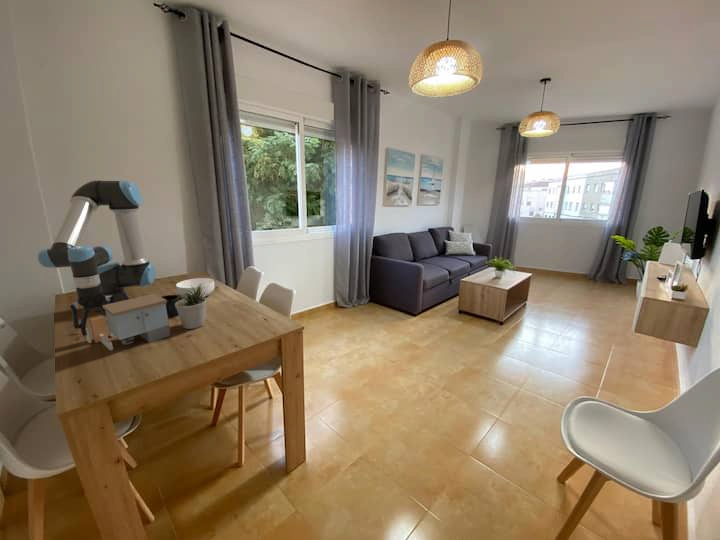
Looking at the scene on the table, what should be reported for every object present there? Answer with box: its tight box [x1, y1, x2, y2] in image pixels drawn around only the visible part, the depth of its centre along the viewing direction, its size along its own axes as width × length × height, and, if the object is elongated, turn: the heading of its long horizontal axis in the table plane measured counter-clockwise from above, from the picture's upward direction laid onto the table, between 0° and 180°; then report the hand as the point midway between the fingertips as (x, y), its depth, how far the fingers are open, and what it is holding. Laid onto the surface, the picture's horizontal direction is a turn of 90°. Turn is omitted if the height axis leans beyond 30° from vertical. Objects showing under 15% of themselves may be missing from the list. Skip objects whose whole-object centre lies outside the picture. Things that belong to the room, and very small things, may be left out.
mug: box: [161, 294, 180, 319], centre depth 146 cm, size 9×12×9 cm
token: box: [120, 337, 136, 346], centre depth 120 cm, size 4×4×1 cm
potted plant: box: [175, 285, 208, 330], centre depth 134 cm, size 13×14×20 cm
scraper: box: [87, 314, 114, 351], centre depth 118 cm, size 16×4×10 cm, turn 54°
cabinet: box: [102, 293, 171, 344], centre depth 121 cm, size 14×18×16 cm
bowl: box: [175, 277, 215, 299], centre depth 174 cm, size 20×20×8 cm
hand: (100, 338), depth 123 cm, fingers open, 6 cm apart
